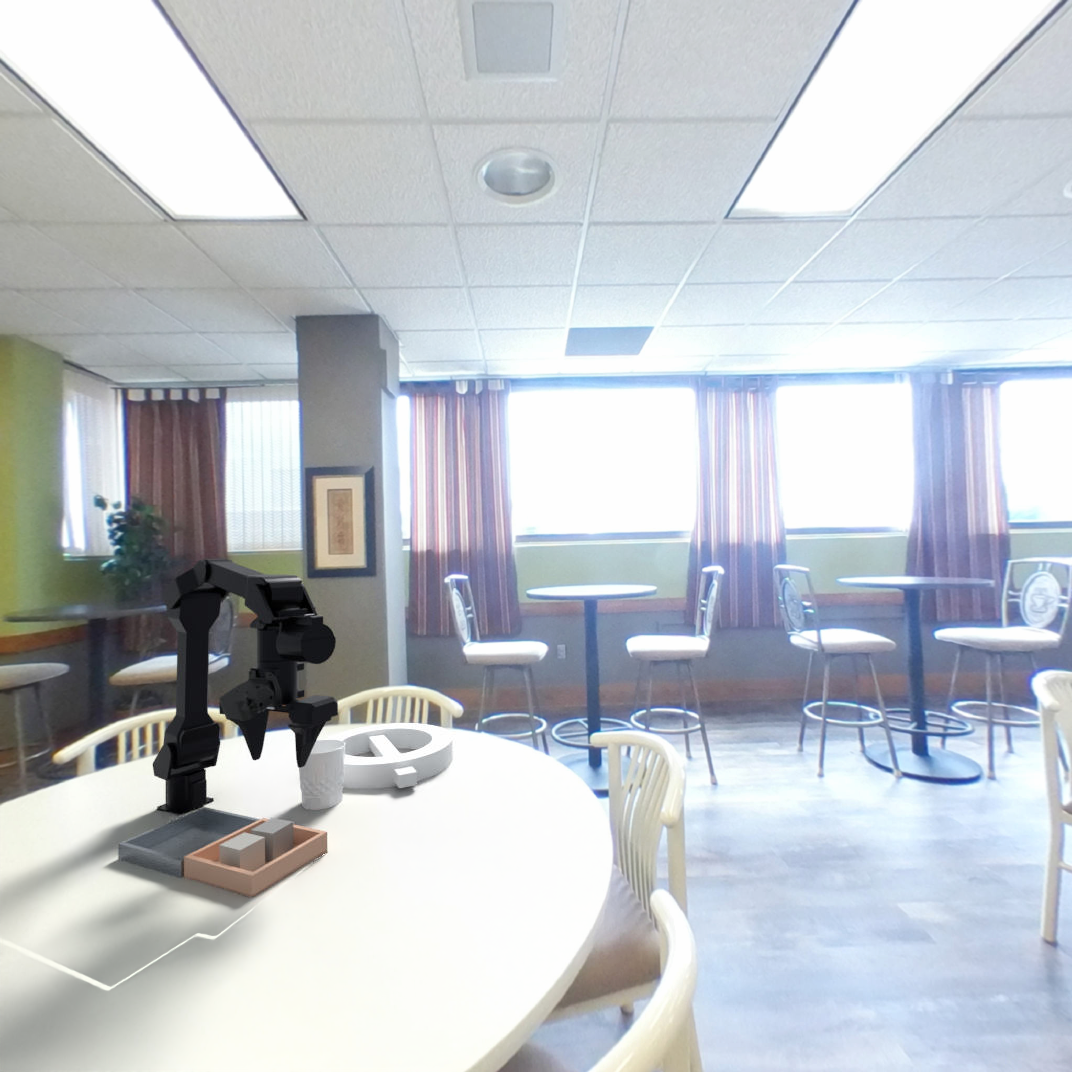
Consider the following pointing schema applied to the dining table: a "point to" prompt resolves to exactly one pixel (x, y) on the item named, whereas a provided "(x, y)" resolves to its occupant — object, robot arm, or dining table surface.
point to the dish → (250, 884)
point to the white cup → (323, 775)
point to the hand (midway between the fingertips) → (278, 763)
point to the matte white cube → (243, 852)
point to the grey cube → (275, 837)
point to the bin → (180, 839)
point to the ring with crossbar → (394, 754)
